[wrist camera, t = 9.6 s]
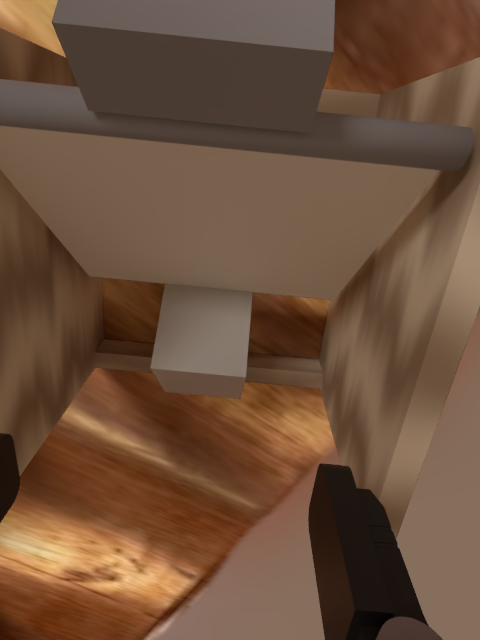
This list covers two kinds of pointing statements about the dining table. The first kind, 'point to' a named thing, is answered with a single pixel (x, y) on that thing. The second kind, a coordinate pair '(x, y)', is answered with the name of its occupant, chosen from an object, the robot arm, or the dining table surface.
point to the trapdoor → (212, 148)
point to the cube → (202, 341)
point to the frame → (324, 373)
